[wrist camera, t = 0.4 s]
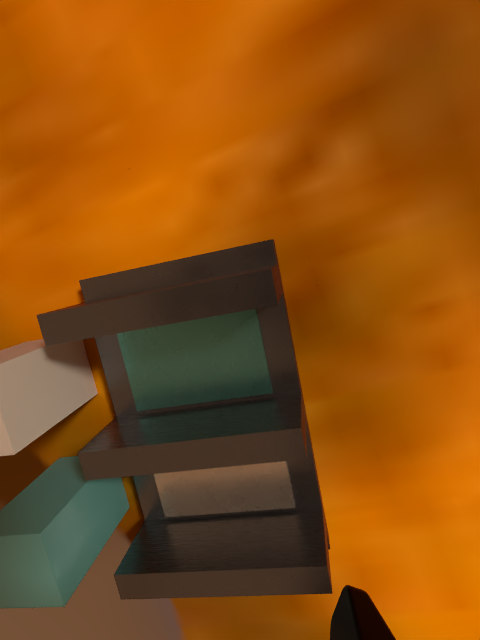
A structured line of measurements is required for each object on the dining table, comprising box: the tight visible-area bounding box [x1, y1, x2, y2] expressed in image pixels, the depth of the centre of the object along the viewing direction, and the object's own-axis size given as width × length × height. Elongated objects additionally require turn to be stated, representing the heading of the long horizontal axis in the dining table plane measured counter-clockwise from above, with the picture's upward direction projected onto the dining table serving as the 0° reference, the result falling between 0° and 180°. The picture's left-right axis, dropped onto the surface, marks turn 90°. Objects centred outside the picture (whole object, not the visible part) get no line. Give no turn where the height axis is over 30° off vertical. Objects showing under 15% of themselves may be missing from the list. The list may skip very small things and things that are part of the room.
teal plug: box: [0, 456, 129, 608], centre depth 21 cm, size 4×4×7 cm
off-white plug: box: [0, 339, 98, 456], centre depth 20 cm, size 4×4×7 cm
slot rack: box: [37, 239, 332, 599], centre depth 20 cm, size 18×11×5 cm, turn 12°
